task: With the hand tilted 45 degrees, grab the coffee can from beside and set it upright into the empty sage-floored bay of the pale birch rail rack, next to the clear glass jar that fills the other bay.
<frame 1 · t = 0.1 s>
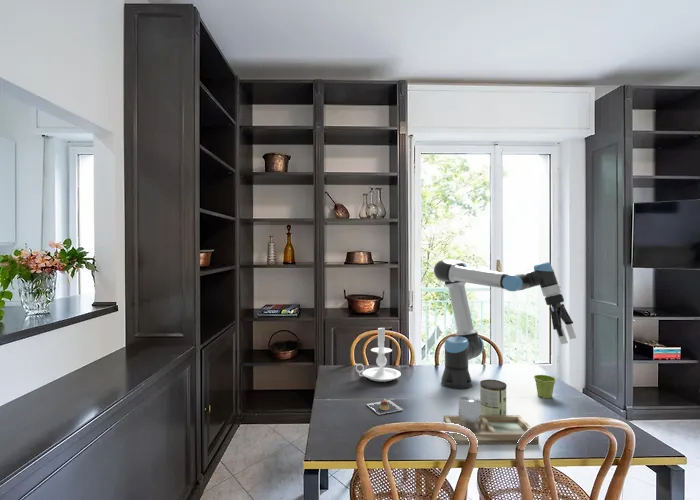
hand: (569, 341, 176), 28 cm above the table, tool tilted 20°, fingers open, 13 cm apart
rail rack: (488, 433, 147), on the table
clear glass jar: (469, 429, 147), resting on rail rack
dessert: (384, 409, 170), on the table
candlestick: (377, 379, 208), on the table
plant pot: (544, 396, 184), on the table
coffee can: (493, 418, 161), on the table
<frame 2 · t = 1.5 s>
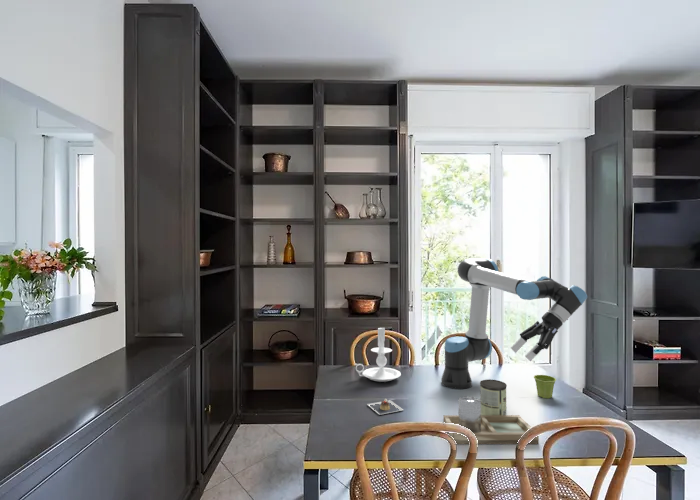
hand: (520, 354, 161), 26 cm above the table, tool tilted 45°, fingers open, 13 cm apart
nothing on the table moved.
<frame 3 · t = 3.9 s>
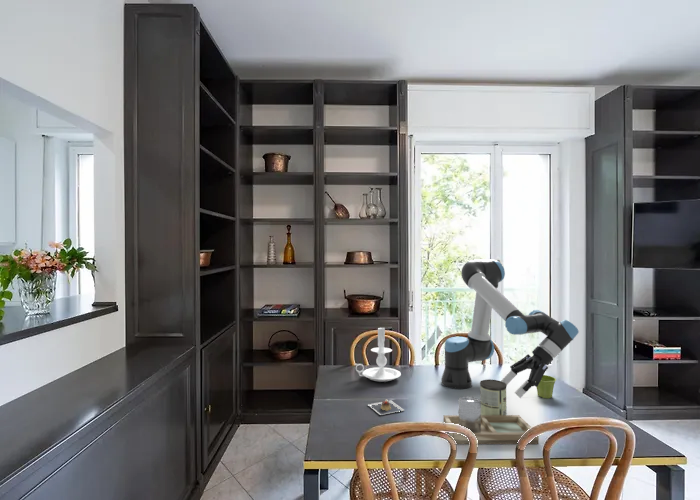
hand: (509, 389, 159), 12 cm above the table, tool tilted 45°, fingers open, 13 cm apart
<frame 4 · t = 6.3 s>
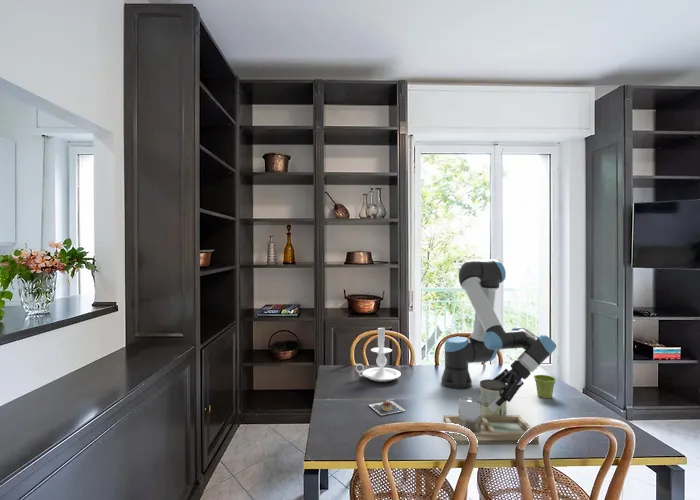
hand: (485, 404, 161), 5 cm above the table, tool tilted 45°, fingers closed on coffee can, 10 cm apart
coffee can: (493, 418, 161), on the table, touching gripper
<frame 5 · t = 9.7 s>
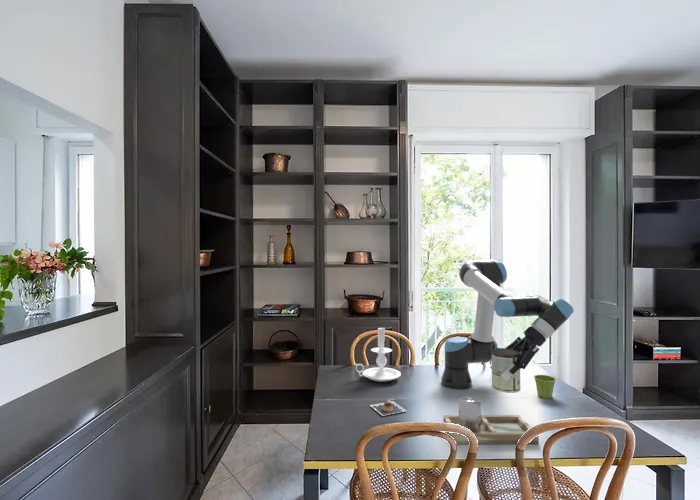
hand: (497, 374, 149), 22 cm above the table, tool tilted 45°, fingers closed on coffee can, 10 cm apart
coffee can: (505, 388, 149), point 16 cm above the table, touching gripper
when the fingers open (8 cm above the table, at t = 12.9 s): coffee can drops 1 cm, resting on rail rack.
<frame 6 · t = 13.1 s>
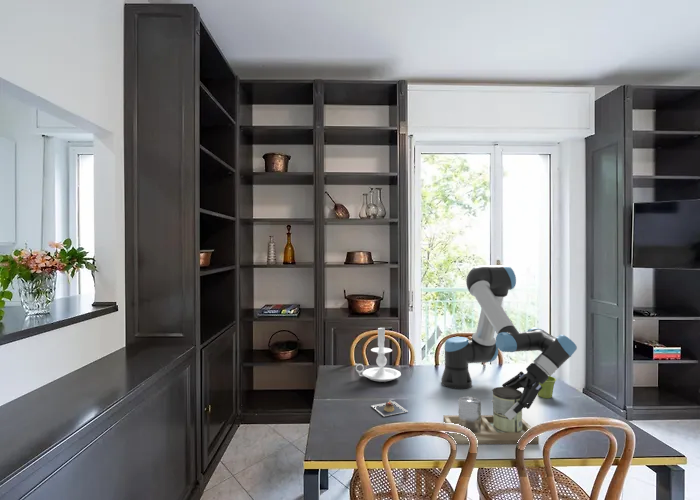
hand: (500, 410, 147), 9 cm above the table, tool tilted 45°, fingers open, 12 cm apart
coffee can: (507, 429, 147), point 2 cm above the table, touching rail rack
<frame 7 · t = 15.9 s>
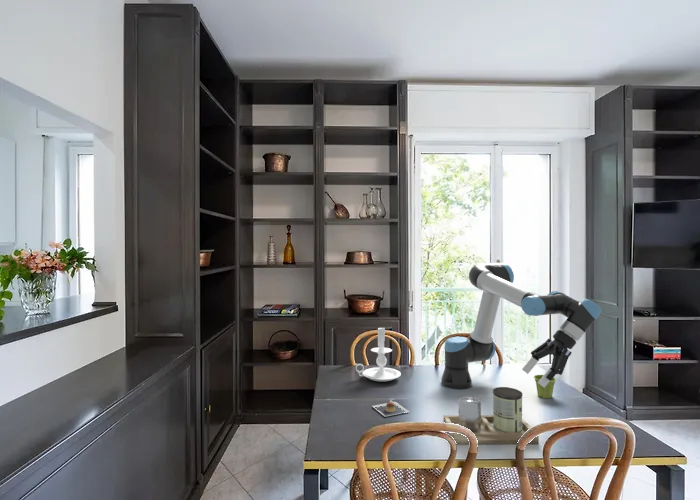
hand: (532, 378, 150), 20 cm above the table, tool tilted 40°, fingers open, 13 cm apart
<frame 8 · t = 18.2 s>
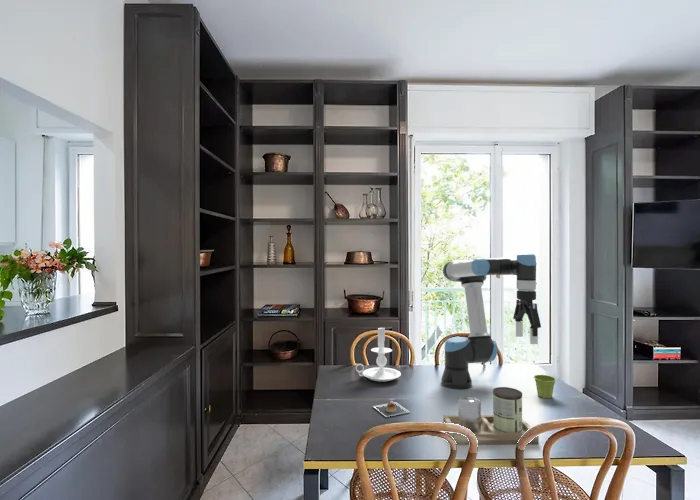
hand: (526, 340, 166), 31 cm above the table, tool pointing down, fingers open, 13 cm apart
at the end: coffee can inside the target area on the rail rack (0.2 cm from its centre), point 1.5 cm above the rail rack's base; coffee can tilted 0°; the gripper is holding nothing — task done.
